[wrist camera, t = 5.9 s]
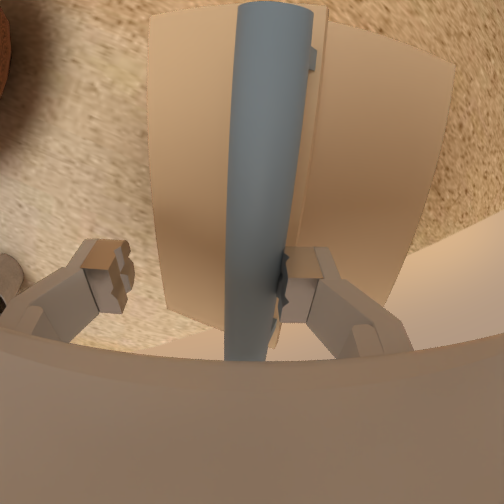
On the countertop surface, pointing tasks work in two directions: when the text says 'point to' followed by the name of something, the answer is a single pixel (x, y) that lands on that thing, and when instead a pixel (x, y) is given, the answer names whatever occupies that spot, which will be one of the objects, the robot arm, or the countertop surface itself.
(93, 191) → the countertop surface
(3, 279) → the house plant
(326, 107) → the carton
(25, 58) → the countertop surface
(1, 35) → the bowl
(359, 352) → the robot arm
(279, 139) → the flap
